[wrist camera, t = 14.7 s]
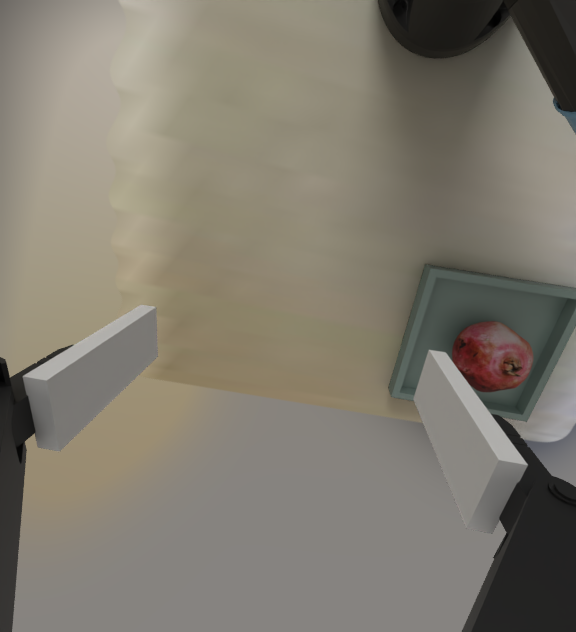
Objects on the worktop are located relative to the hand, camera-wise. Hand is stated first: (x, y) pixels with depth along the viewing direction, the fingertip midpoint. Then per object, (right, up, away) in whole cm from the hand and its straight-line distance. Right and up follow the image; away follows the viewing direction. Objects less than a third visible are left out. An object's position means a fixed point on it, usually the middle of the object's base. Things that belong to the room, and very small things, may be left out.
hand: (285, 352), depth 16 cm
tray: (+27, -2, +32) cm, 42 cm away
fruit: (+27, -2, +31) cm, 42 cm away
